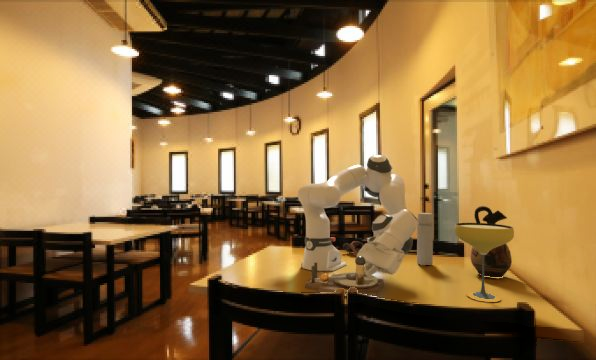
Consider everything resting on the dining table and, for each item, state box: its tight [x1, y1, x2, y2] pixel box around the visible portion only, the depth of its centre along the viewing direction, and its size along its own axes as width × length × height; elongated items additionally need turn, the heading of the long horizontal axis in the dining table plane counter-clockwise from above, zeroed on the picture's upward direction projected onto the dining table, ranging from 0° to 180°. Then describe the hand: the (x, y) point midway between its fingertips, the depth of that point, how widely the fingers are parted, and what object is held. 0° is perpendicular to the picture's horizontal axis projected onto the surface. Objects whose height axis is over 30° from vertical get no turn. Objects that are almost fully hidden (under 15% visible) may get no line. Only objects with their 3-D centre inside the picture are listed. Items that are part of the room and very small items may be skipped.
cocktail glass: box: [454, 222, 515, 299], centre depth 120 cm, size 18×18×25 cm
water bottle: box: [416, 212, 434, 266], centre depth 169 cm, size 9×8×25 cm
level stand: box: [304, 263, 384, 297], centre depth 130 cm, size 20×26×8 cm
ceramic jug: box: [470, 205, 513, 277], centre depth 148 cm, size 17×15×30 cm
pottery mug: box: [342, 240, 365, 257], centre depth 191 cm, size 12×10×8 cm
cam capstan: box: [319, 256, 377, 289], centre depth 128 cm, size 17×22×11 cm
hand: (365, 275), depth 123 cm, fingers closed, pressing on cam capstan
